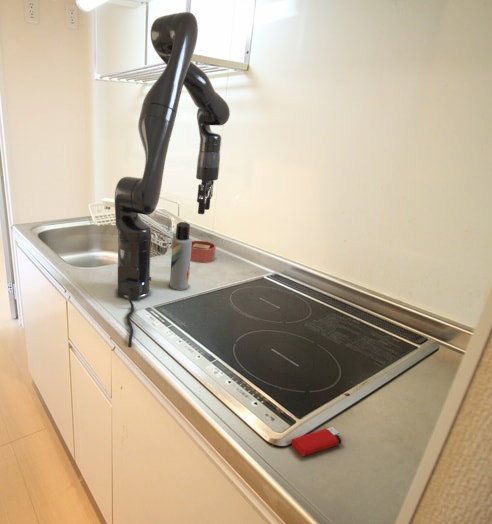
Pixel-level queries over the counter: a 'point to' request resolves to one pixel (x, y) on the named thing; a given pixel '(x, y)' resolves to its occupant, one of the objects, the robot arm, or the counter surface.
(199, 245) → the eraser
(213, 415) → the counter surface
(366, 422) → the counter surface
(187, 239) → the lotion bottle
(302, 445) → the lighter
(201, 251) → the bowl
